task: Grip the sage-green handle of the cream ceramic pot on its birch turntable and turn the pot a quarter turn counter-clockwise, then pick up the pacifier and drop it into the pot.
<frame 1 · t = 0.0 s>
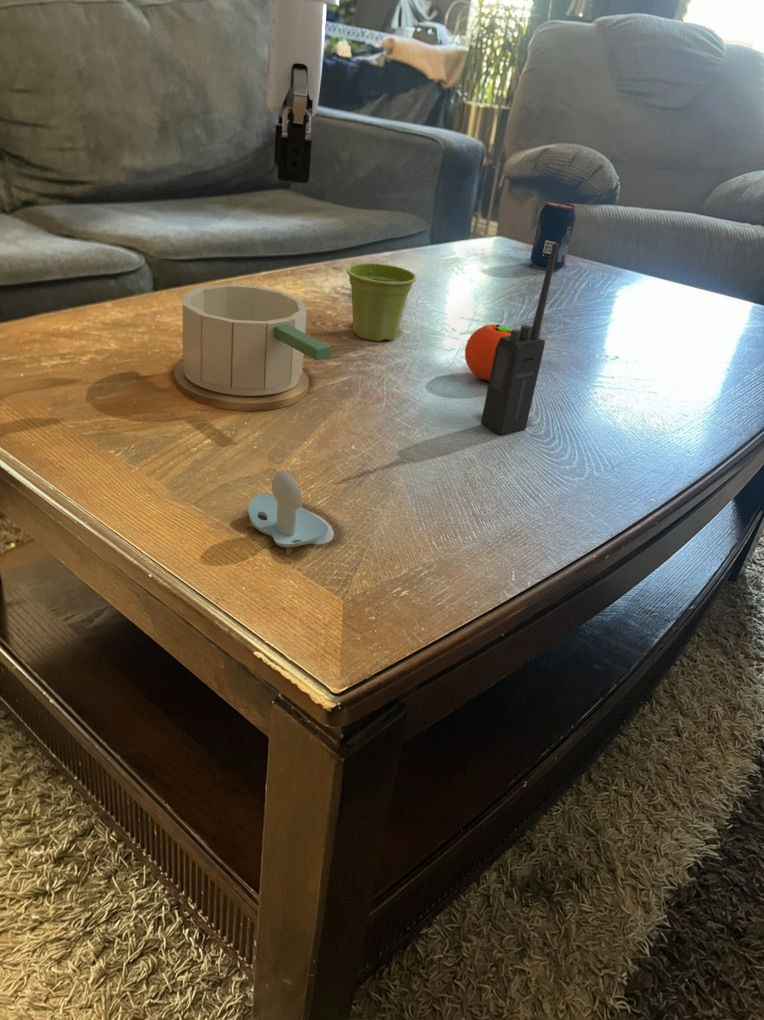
hand: (290, 173, 84), 22 cm above the table, tool pointing down, fingers open, 9 cm apart
pacifier: (294, 538, 63), on the table
turntable: (242, 383, 88), on the table
plant pot: (374, 336, 108), on the table
walkie-talkie: (501, 427, 87), on the table
soda can: (545, 267, 157), on the table
pot: (262, 348, 84), point 5 cm above the table, hinge at 0.0°
clementine: (491, 380, 99), on the table
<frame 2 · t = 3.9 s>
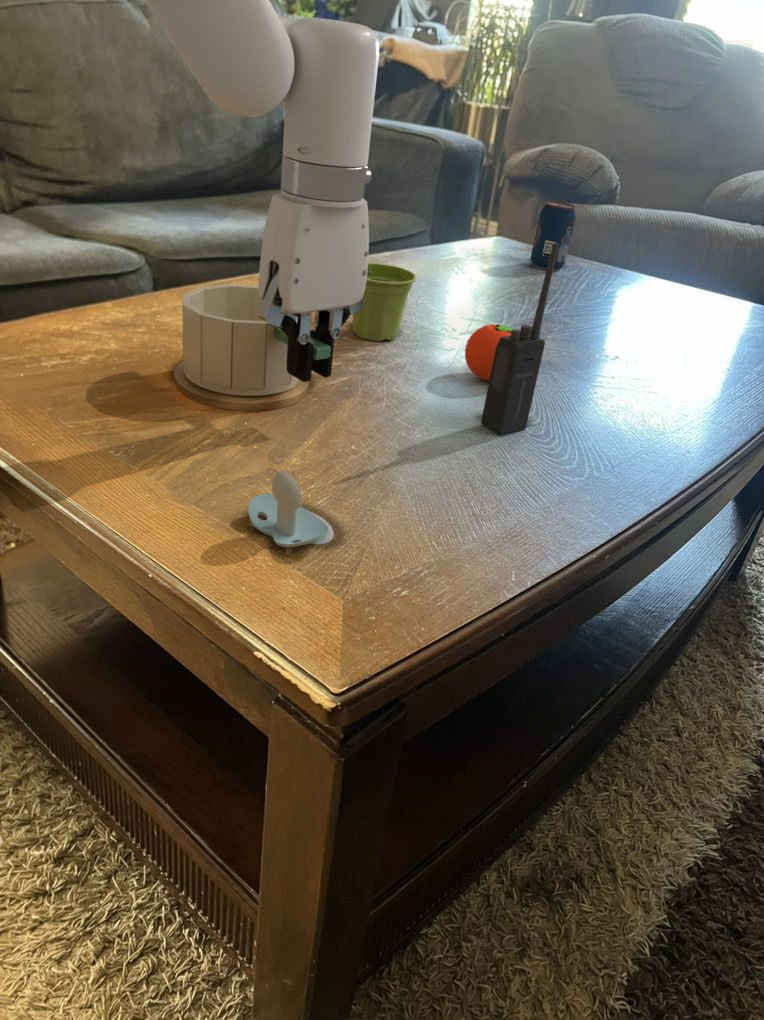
hand: (308, 373, 79), 5 cm above the table, tool pointing down, fingers closed on pot, 2 cm apart
pot: (262, 348, 84), point 5 cm above the table, hinge at 0.0°, touching gripper
everything else where it was.
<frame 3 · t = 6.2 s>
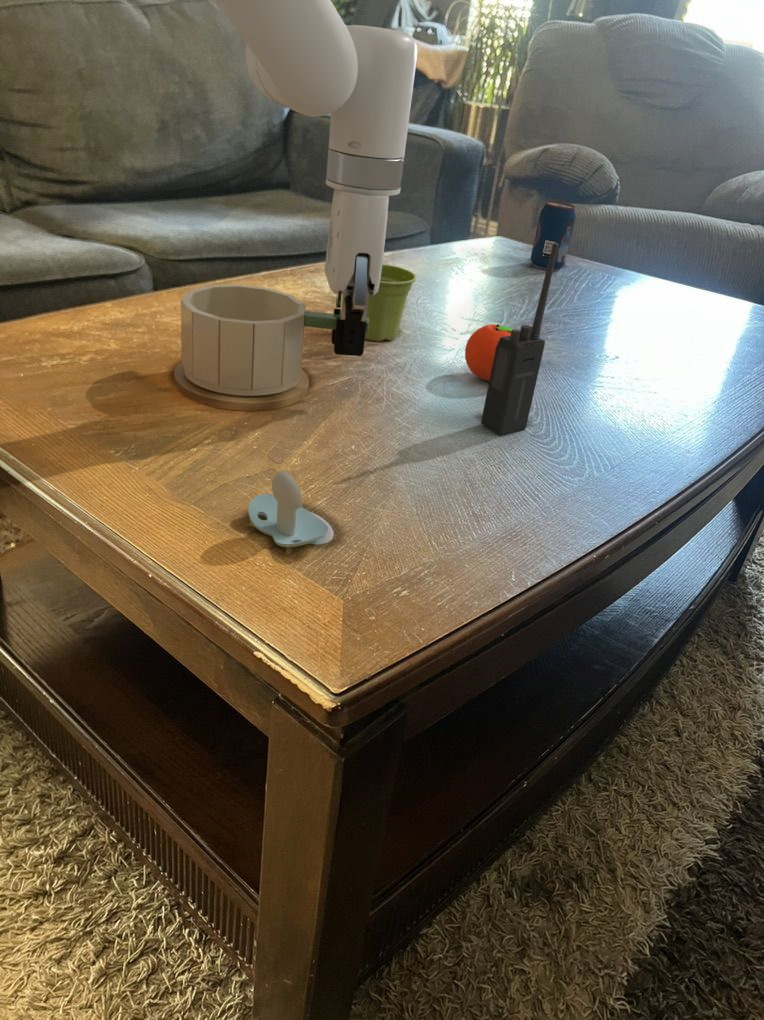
hand: (346, 348, 87), 5 cm above the table, tool pointing down, fingers closed on pot, 2 cm apart
pot: (275, 341, 86), point 5 cm above the table, hinge at 48.5°, touching gripper
everything else where it was.
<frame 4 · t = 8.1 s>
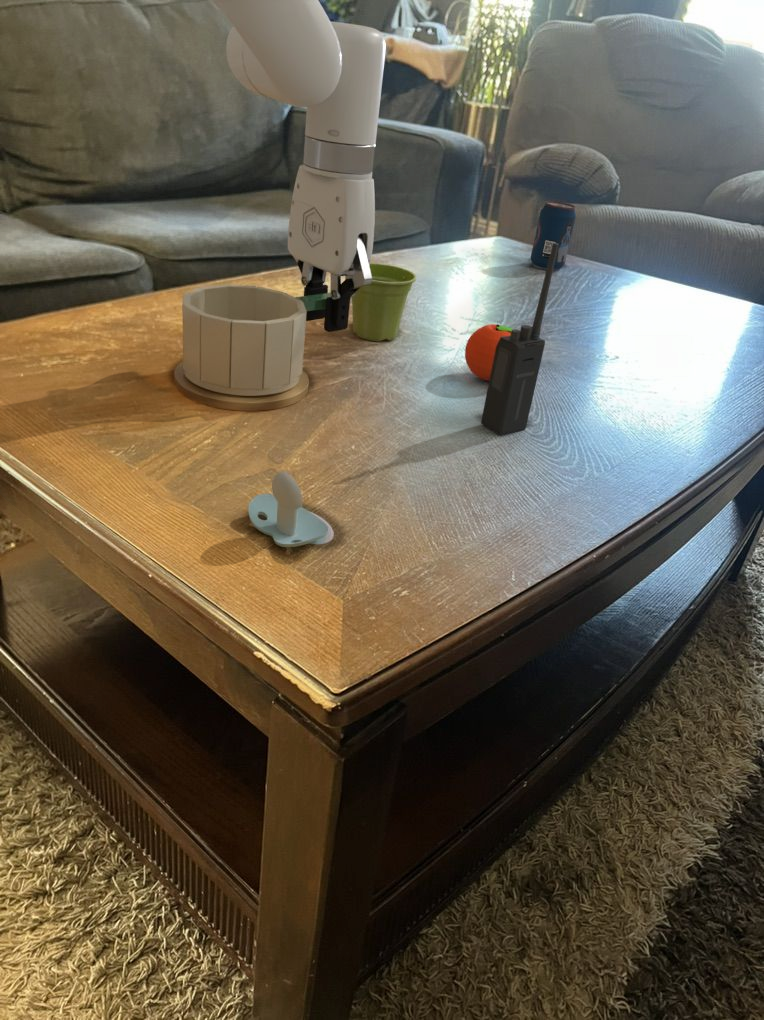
hand: (324, 323, 93), 6 cm above the table, tool pointing down, fingers open, 3 cm apart
pot: (270, 334, 88), point 5 cm above the table, hinge at 88.7°
everything else where it was.
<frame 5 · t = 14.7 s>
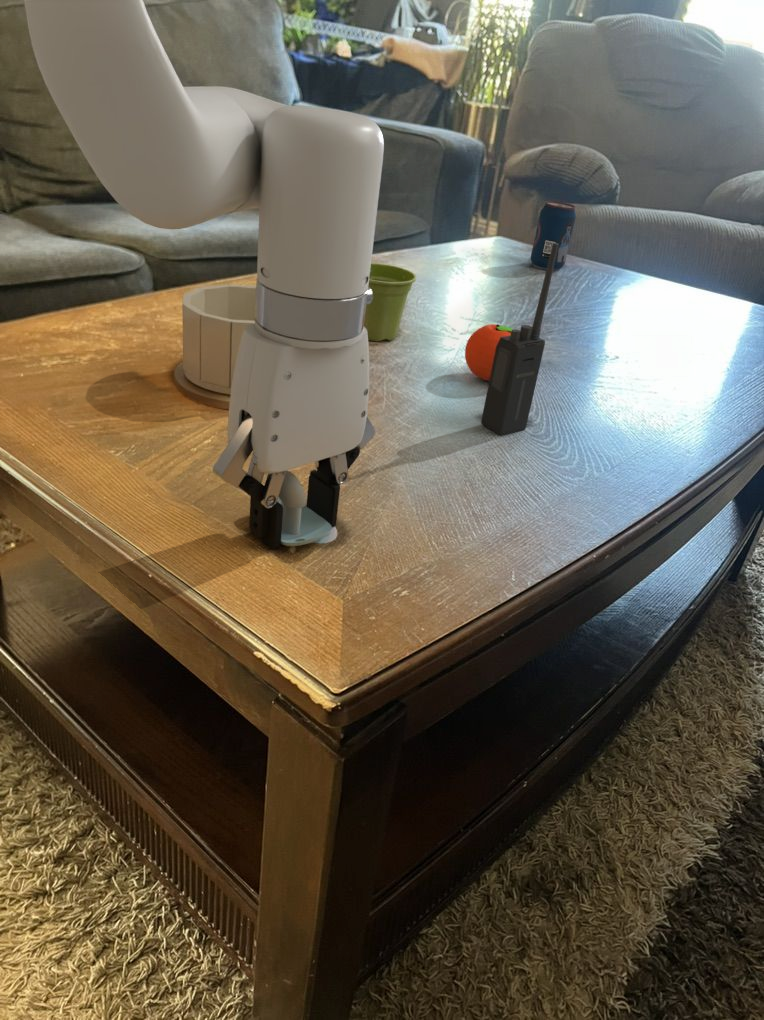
hand: (293, 528, 63), 1 cm above the table, tool pointing down, fingers closed on pacifier, 4 cm apart
pacifier: (298, 537, 64), on the table, touching gripper
everything else where it was.
when the fingers open (7 cm above the table, at t = 21.8 s): pacifier drops 4 cm, resting on pot.
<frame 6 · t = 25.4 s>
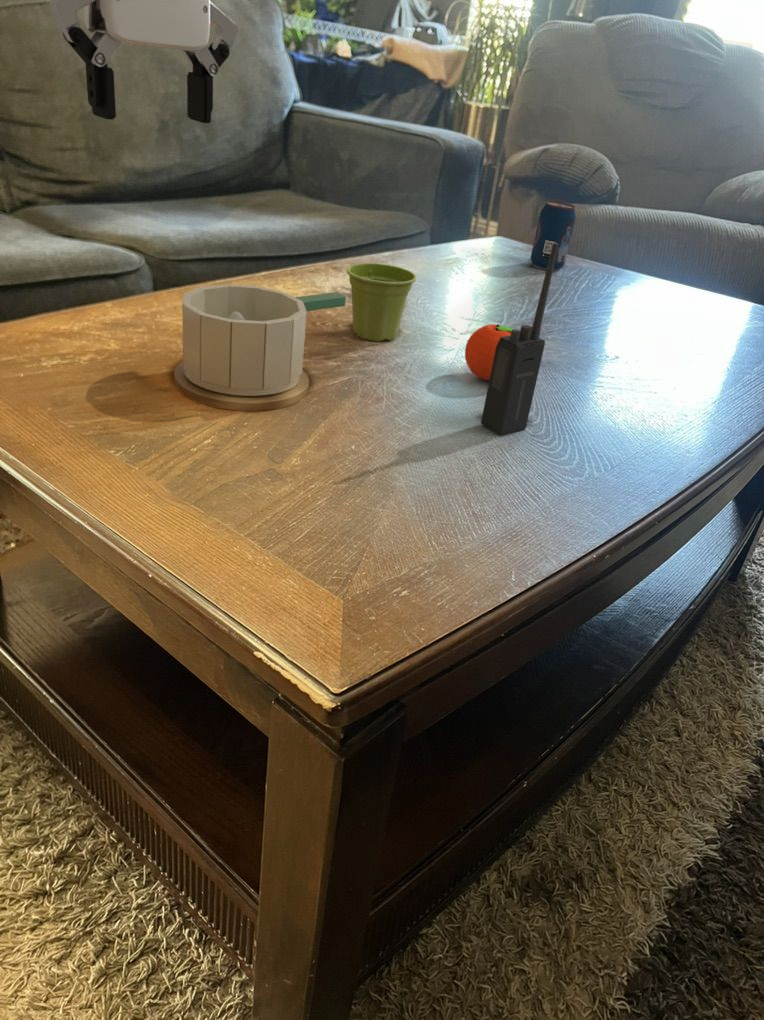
hand: (153, 119, 72), 26 cm above the table, tool pointing down, fingers open, 9 cm apart
pacifier: (246, 366, 88), point 2 cm above the table, touching pot
pot: (270, 334, 88), point 5 cm above the table, hinge at 88.8°, touching pacifier
everything else where it was.
at the end: pot at +89° (first picture: +0°); pacifier inside the target area on the pot (0.4 cm from its centre), point 1.9 cm above the pot's base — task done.
